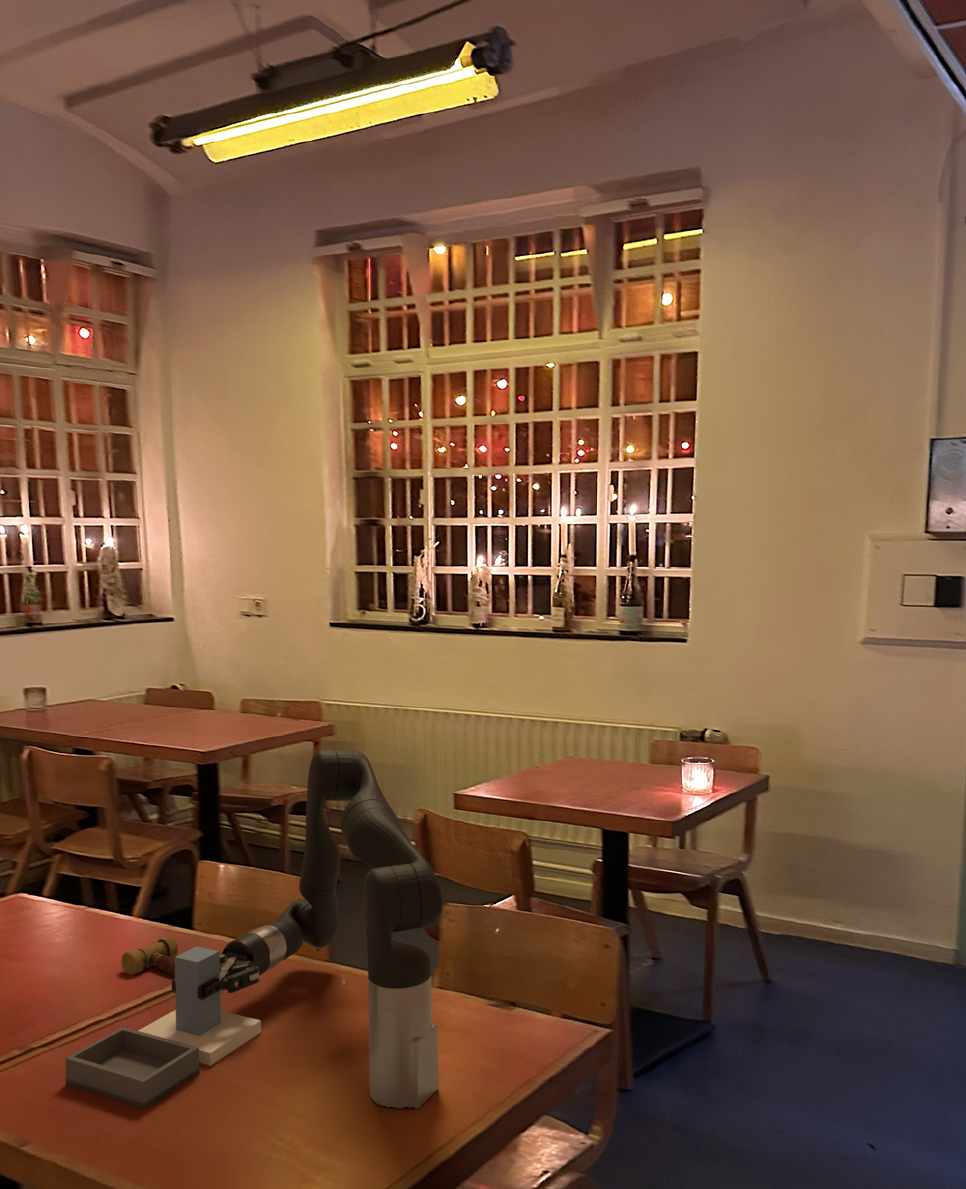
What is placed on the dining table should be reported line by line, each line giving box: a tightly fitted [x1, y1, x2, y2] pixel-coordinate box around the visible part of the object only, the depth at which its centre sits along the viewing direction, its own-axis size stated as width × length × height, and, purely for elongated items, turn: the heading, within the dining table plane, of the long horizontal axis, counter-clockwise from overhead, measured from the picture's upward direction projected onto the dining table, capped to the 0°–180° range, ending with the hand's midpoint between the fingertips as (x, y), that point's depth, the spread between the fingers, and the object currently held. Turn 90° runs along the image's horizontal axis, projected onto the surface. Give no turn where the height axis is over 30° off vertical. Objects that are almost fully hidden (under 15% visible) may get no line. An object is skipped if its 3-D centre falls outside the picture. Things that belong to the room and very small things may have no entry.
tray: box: [64, 1026, 200, 1110], centre depth 144 cm, size 16×11×4 cm
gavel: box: [120, 935, 179, 976], centre depth 183 cm, size 21×5×10 cm
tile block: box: [174, 946, 222, 1036], centre depth 157 cm, size 5×5×12 cm
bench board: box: [137, 1009, 262, 1067], centre depth 157 cm, size 16×12×2 cm
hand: (186, 990), depth 154 cm, fingers closed on tile block, 5 cm apart
